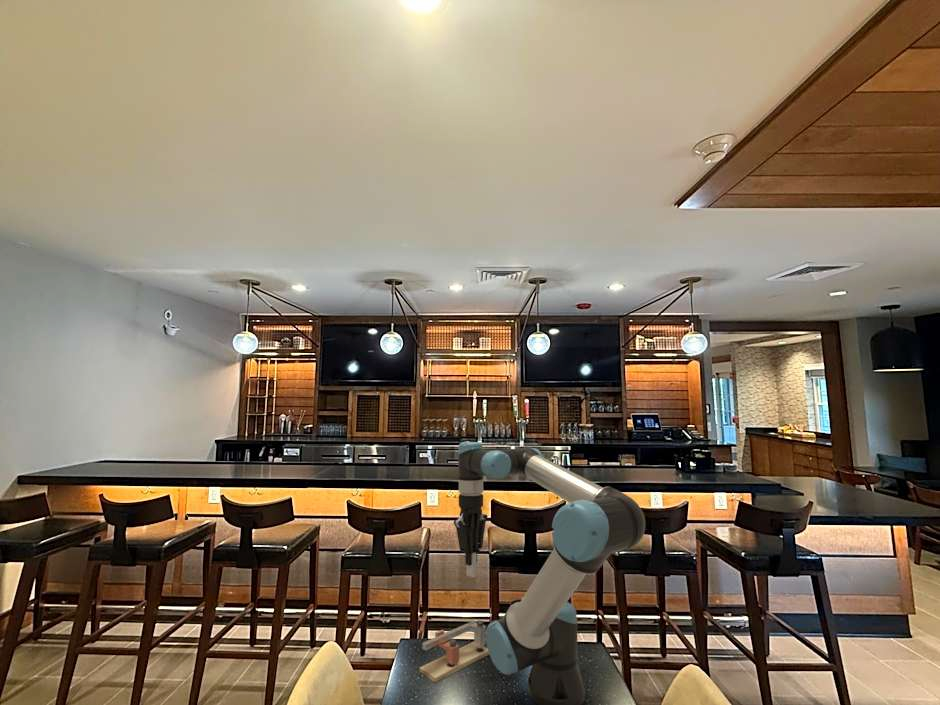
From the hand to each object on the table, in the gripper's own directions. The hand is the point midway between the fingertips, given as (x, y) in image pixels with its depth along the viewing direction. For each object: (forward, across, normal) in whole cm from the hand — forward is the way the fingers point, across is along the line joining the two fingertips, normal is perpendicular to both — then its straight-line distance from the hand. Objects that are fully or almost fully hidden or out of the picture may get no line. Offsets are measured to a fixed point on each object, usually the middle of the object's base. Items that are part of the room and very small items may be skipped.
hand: (471, 575), depth 135 cm
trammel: (+25, 0, -7) cm, 26 cm away
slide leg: (+24, +2, -8) cm, 26 cm away
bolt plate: (+26, 0, -7) cm, 27 cm away
